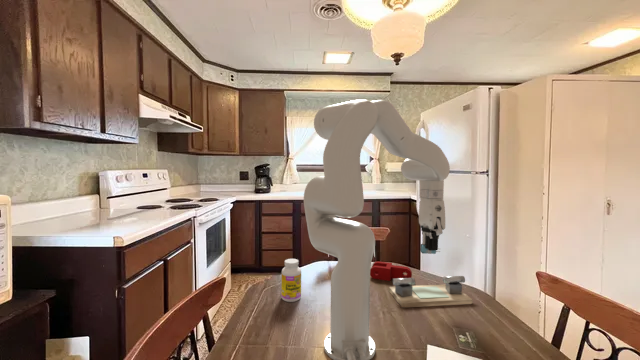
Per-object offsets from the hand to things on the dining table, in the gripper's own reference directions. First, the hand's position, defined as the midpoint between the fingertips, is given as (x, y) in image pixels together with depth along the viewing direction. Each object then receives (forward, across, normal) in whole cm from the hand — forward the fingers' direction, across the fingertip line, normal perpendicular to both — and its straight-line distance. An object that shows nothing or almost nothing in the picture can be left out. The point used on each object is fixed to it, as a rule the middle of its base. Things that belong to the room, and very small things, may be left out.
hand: (429, 247), depth 97 cm
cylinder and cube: (+16, 0, 0) cm, 16 cm away
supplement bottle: (+17, +4, +47) cm, 50 cm away
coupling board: (+17, 0, 0) cm, 17 cm away
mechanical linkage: (+18, +18, +7) cm, 26 cm away
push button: (+2, 0, 0) cm, 2 cm away
